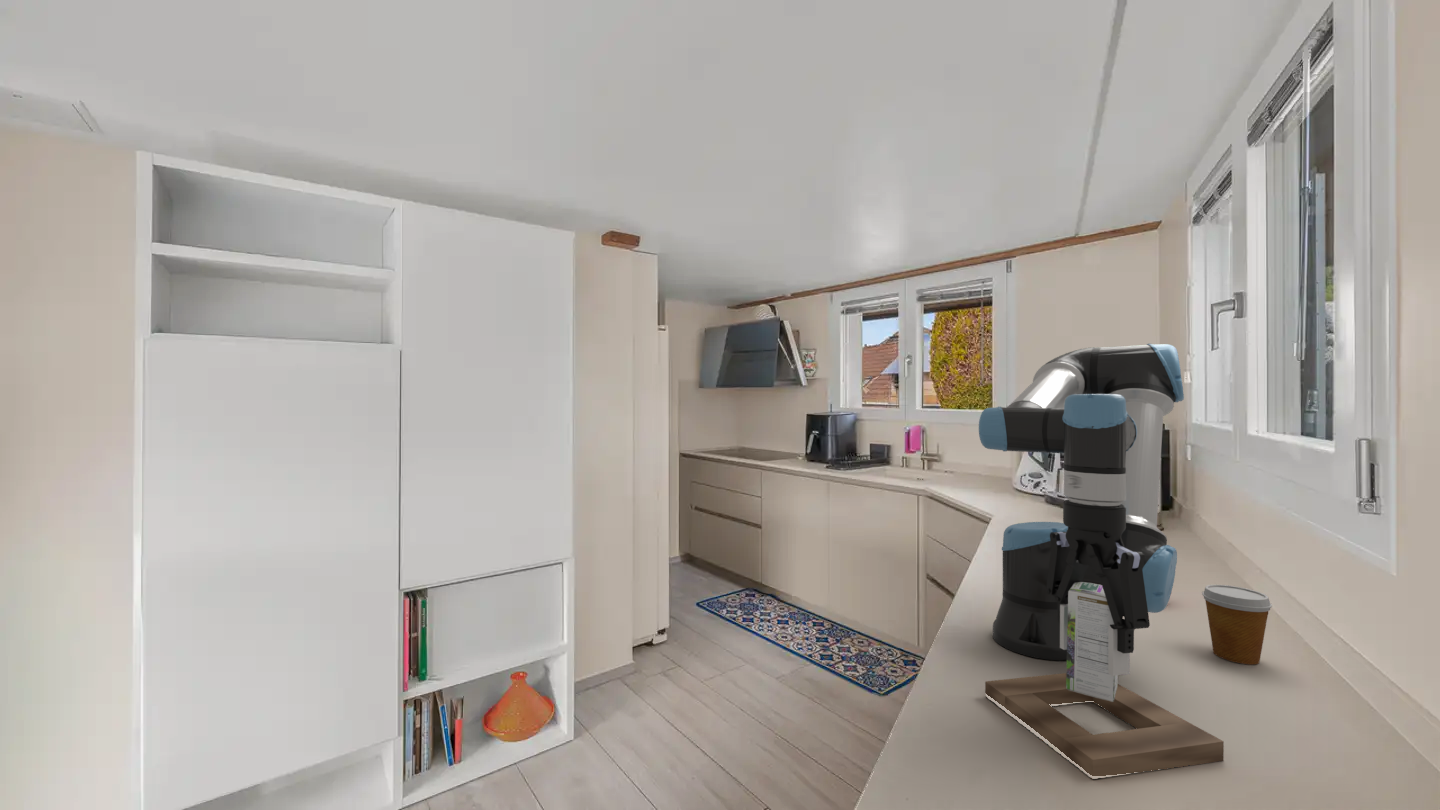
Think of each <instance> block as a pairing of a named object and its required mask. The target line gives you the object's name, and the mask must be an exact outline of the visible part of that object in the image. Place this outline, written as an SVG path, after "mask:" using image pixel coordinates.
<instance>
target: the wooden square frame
mask: <svg viewBox="0 0 1440 810" xmlns="http://www.w3.org/2000/svg"><path fill="white" fill-rule="evenodd" d="M984 684H985V685H984V686H985V687H984V688H985V689H984V691H985V693H986V694H987V695H988V696H990V697H991V698H993V699H994V700H995V701H997V702H998V703H999V704H1001V705H1002V706H1004V707H1005V708H1006V709H1007V710H1009V711H1010V712H1011V713H1012V714H1014V715H1015V716H1017V717H1018V718H1019V719H1021V720H1022V721H1023V722H1025V723H1026V724H1027V725H1029V726H1030V727H1031V728H1033V729H1034V730H1035V731H1036V732H1038V733H1039V734H1040V735H1041V736H1043V737H1044V738H1045V739H1047V740H1048V741H1049V742H1050V743H1051V744H1053V745H1054V746H1055V747H1057V748H1058V749H1059V750H1060V751H1061V752H1063V753H1064V754H1065V755H1066V756H1067V757H1069V758H1070V759H1071V760H1072V761H1074V762H1075V763H1076V764H1078V765H1079V766H1080V767H1082V768H1083V769H1084V770H1085V771H1086V772H1087V773H1089V774H1090V775H1092V776H1106V775H1117V774H1126V773H1134V772H1143V771H1151V770H1152V771H1151V772H1154V771H1153V770H1158V769H1164V770H1168V769H1167V768H1171V769H1175V768H1174V767H1178V768H1184V767H1190V766H1197V765H1202V764H1209V763H1217V762H1224V759H1225V758H1224V751H1225V750H1224V749H1225V748H1224V747H1225V746H1224V745H1225V744H1224V743H1225V742H1224V740H1222V739H1220V738H1219V737H1216V736H1214V735H1212V734H1211V733H1209V732H1207V731H1206V730H1204V729H1202V728H1199V726H1196V725H1194V724H1193V723H1190V722H1189V721H1187V720H1185V719H1183V718H1181V717H1180V716H1177V715H1176V714H1174V713H1172V712H1171V711H1169V710H1166V709H1165V708H1163V707H1161V706H1159V705H1158V704H1155V703H1154V702H1152V701H1151V700H1148V699H1147V698H1145V697H1143V696H1141V695H1140V694H1138V693H1135V692H1134V691H1132V690H1130V689H1129V688H1127V687H1124V686H1123V685H1121V684H1120V683H1118V687H1117V690H1116V694H1115V699H1114V702H1111V701H1107V700H1103V699H1100V698H1095V697H1092V696H1088V695H1084V694H1081V693H1077V692H1073V691H1070V690H1067V688H1066V672H1064V673H1054V674H1052V673H1051V674H1045V675H1036V676H1035V675H1034V676H1033V675H1032V676H1025V677H1016V678H1006V679H997V680H985V682H984ZM985 693H984V694H985ZM1085 701H1094V702H1095V703H1097V704H1099V705H1100V706H1102V707H1103V708H1105V709H1106V710H1108V711H1109V712H1108V711H1107V712H1108V713H1110V712H1111V713H1112V714H1111V713H1110V714H1111V715H1113V714H1114V715H1113V716H1115V717H1116V716H1117V717H1116V718H1118V719H1119V718H1120V720H1121V719H1122V720H1121V721H1123V720H1124V721H1125V723H1126V722H1127V723H1126V724H1128V723H1129V724H1131V725H1132V726H1131V725H1130V726H1131V727H1133V726H1134V727H1135V728H1134V727H1133V729H1126V730H1120V731H1118V730H1117V731H1111V732H1104V733H1096V734H1095V733H1094V734H1093V733H1091V732H1090V731H1088V730H1087V729H1085V728H1084V727H1082V726H1081V725H1079V724H1078V723H1076V722H1075V721H1074V720H1072V719H1071V718H1069V717H1068V716H1066V715H1065V714H1063V713H1061V712H1060V711H1059V710H1057V709H1056V708H1055V707H1051V706H1050V705H1051V704H1062V703H1073V702H1085ZM1095 703H1094V704H1095ZM1049 704H1050V705H1049ZM1100 706H1099V707H1100ZM1103 708H1102V709H1103ZM1105 709H1104V710H1105ZM1106 710H1105V711H1106ZM1124 721H1123V722H1124ZM1129 724H1128V725H1129ZM1136 728H1137V729H1136ZM1188 765H1190V766H1188ZM1183 766H1184V767H1183ZM1158 771H1159V770H1158Z"/></svg>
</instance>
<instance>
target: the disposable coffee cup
mask: <svg viewBox="0 0 1440 810" xmlns="http://www.w3.org/2000/svg"><path fill="white" fill-rule="evenodd" d="M1201 595H1202V597H1203V599H1204V600H1205V606H1206V612H1207V613H1206V614H1207V619H1208V625H1209V633H1210V639H1211V646H1212V647H1211V648H1212V652H1213V654H1214V655H1215V656H1217V657H1219V658H1220V659H1224V660H1225V661H1229V662H1233V663H1238V664H1242V665H1249V666H1250V665H1251V666H1252V665H1258V664H1260V661H1261V656H1262V650H1263V644H1264V640H1265V639H1264V637H1265V633H1266V628H1267V627H1266V626H1267V622H1268V621H1267V620H1268V615H1269V611H1271V608H1272V607H1273V604H1272V603H1271V602H1270V601H1271V600H1270V599H1269V596H1268V594H1265V593H1263V592H1261V591H1257V590H1253V589H1250V588H1246V587H1241V586H1235V585H1226V584H1207V585H1205V587H1204V591H1202V592H1201Z"/></svg>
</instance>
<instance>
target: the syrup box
mask: <svg viewBox="0 0 1440 810" xmlns="http://www.w3.org/2000/svg"><path fill="white" fill-rule="evenodd" d="M1112 624H1114V622H1113V619H1112V616H1111V612H1110V609H1109V606H1108V603H1107V600H1106V596H1105V593H1104V590H1103V587H1102V585H1099V584H1093V583H1086V582H1076V583H1074V584H1073V586H1072V587H1071V589H1070V590H1069V591H1068V626H1067V660H1066V672H1065V673H1066V688H1067V690H1070V691H1073V692H1077V693H1081V694H1084V695H1088V696H1092V697H1095V698H1100V699H1103V700H1107V701H1111V702H1114V699H1115V694H1116V690H1117V687H1118V684H1119V683H1118V681H1119V679H1118V678H1119V675H1117V676H1112V675H1110V674H1109V673H1108V626H1110V625H1112Z"/></svg>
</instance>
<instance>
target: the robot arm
mask: <svg viewBox="0 0 1440 810" xmlns="http://www.w3.org/2000/svg"><path fill="white" fill-rule="evenodd" d="M1178 353H1179V352H1178V350H1177V348H1176V347H1175V346H1174V345H1172V344H1170V343H1169V344H1168V343H1165V344H1164V343H1162V344H1160V343H1159V344H1158V343H1157V344H1155V343H1154V344H1152V343H1146V344H1141V345H1123V346H1122V345H1121V346H1101V347H1098V346H1097V347H1084V348H1079V349H1077V350H1073V351H1069V352H1065V353H1064V354H1062V355H1059V356H1057V357H1055V358H1053V359H1051V360H1049V361H1047V362H1045V364H1043V365H1042V366H1040V368H1038V370H1036V372H1035V373H1034V376H1033V378H1032V382H1031V384H1030V385H1029V386H1027V387H1026V388H1025V390H1023V391H1022V392H1021V393H1020V394H1019V395H1018V396H1016V398H1015V399H1014V400H1013V401H1012V402H1011V403H1010V404H1009V405H1008V406H1007V407H1005V406H1004V407H1003V406H997V407H987V408H984V409H983V410H982V412H981V414H980V416H979V421H978V436H979V440H980V443H981V445H982V446H983V447H984V448H986V449H988V450H994V451H1002V452H1020V453H1021V452H1024V453H1025V452H1026V453H1045V454H1048V453H1049V454H1063V496H1064V497H1065V498H1068V499H1065V500H1064V501H1063V504H1062V505H1063V506H1062V508H1063V509H1062V522H1060V521H1059V522H1058V521H1029V522H1028V521H1027V522H1018V523H1015V524H1011V525H1009V526H1007V527H1006V528H1005V529H1004V531H1003V536H1002V537H1003V538H1002V546H1001V551H1002V599H1001V602H1000V605H999V608H998V611H997V614H996V617H995V620H994V621H993V623H992V639H993V640H994V641H995V642H996V643H997V644H998V645H1000V646H1001V647H1003V648H1005V649H1007V650H1009V651H1012V652H1014V653H1016V654H1020V655H1023V656H1027V657H1030V658H1035V659H1042V660H1049V661H1067V626H1068V591H1069V590H1070V589H1071V587H1072V586H1073V584H1074V583H1076V582H1086V583H1093V584H1099V585H1102V587H1103V590H1104V593H1105V596H1106V600H1107V603H1108V606H1109V609H1110V612H1111V616H1112V619H1113V622H1114V624H1112V625H1110V626H1108V673H1109V674H1110V675H1112V676H1117V675H1118V676H1124V675H1131V671H1130V670H1131V665H1130V664H1131V663H1130V662H1131V654H1132V653H1133V652H1134V650H1135V631H1136V630H1139V629H1148V628H1150V625H1151V624H1150V618H1149V613H1151V614H1153V613H1155V614H1157V613H1161V612H1162V611H1164V610H1165V609H1166V608H1167V606H1168V604H1169V601H1170V598H1171V594H1172V590H1173V587H1174V583H1175V578H1176V577H1175V576H1176V569H1177V562H1178V553H1177V549H1176V548H1175V547H1174V546H1171V545H1170V544H1167V543H1168V538H1167V535H1166V534H1165V533H1164V532H1163V531H1162V530H1161V529H1159V528H1158V516H1159V515H1158V513H1159V512H1158V510H1159V493H1160V481H1161V480H1160V478H1161V461H1162V442H1163V424H1164V417H1165V416H1167V415H1169V414H1170V413H1172V411H1173V410H1174V407H1175V403H1179V402H1182V401H1183V400H1184V399H1185V394H1184V387H1183V380H1182V379H1183V378H1182V373H1181V365H1180V359H1179V354H1178Z"/></svg>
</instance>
